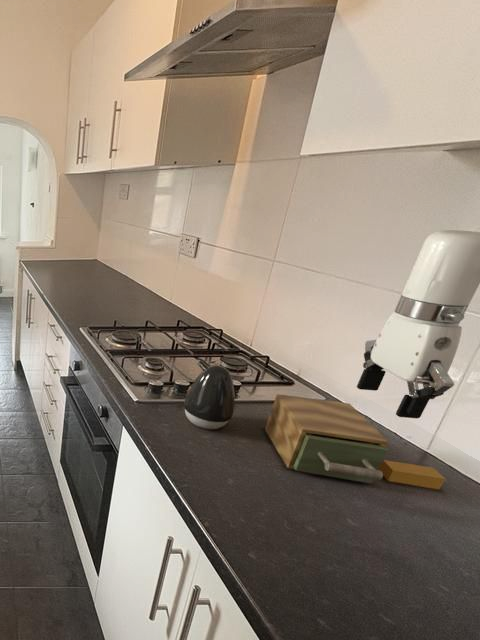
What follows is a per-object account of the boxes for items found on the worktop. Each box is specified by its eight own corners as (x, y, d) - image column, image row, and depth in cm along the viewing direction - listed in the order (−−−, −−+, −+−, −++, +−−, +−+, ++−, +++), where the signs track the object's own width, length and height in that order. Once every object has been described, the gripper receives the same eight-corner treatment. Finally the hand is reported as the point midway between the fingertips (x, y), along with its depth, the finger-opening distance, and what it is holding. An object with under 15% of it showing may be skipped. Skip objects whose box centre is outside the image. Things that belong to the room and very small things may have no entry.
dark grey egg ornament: (201, 408, 106) (215, 354, 100) (238, 430, 97) (256, 372, 91) (170, 415, 103) (183, 360, 97) (205, 439, 94) (221, 379, 88)
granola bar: (427, 478, 82) (433, 467, 81) (439, 489, 79) (445, 478, 78) (377, 470, 84) (383, 459, 83) (387, 480, 81) (393, 470, 80)
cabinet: (368, 482, 81) (388, 441, 77) (287, 468, 85) (302, 428, 81) (334, 440, 93) (349, 403, 90) (264, 429, 97) (276, 393, 93)
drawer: (386, 501, 75) (405, 467, 72) (305, 487, 78) (319, 453, 75) (338, 443, 91) (351, 413, 88) (272, 433, 94) (283, 403, 91)
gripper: (510, 330, 58) (453, 432, 65) (412, 297, 74) (375, 381, 81) (448, 326, 60) (398, 427, 66) (365, 295, 75) (331, 378, 82)
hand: (385, 402), depth 74 cm, fingers open, 9 cm apart
